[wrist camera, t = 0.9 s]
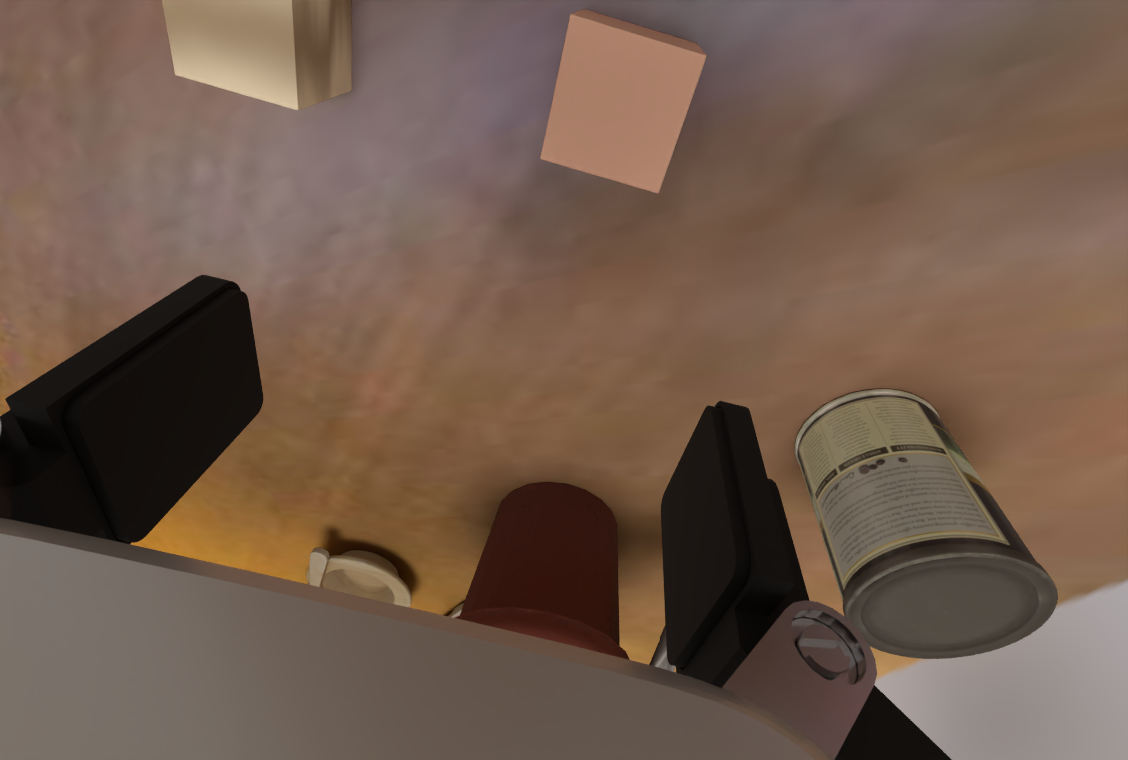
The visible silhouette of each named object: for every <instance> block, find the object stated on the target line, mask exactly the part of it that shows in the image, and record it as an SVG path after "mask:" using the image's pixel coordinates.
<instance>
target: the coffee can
mask: <svg viewBox="0 0 1128 760" xmlns="http://www.w3.org/2000/svg"><path fill="white" fill-rule="evenodd" d="M795 455H796V459H797V461H798V463H799V465H800V467H801V471H802V474H803V477H804V480H805V483H806V486H807V490H808V493H809V496H810V499H811V502H812V505H813V509H814V512H815V515H816V518H817V522H818V525H819V528H820V531H821V534H822V538H823V541H824V544H825V547H826V550H827V553H828V556H829V560H830V563H831V566H832V569H833V572H834V576H835V579H836V582H837V585H838V588H839V591H840V595H841V598H842V601H843V611H844V615H845V617H846V618H847V619H848V620H849V621H850V622H851V623H852V624H853V625H854V626H855V627H856V628H857V629H858V630H859V631H860V633H861V634H862V636H863V637H864V638H865V640H866V641H867V643H868V644H869V646H871V647H873V648H875V649H878V650H880V651H883V652H887V653H890V654H894V655H899V656H905V657H911V658H923V659H940V658H955V657H963V656H971V655H975V654H980V653H984V652H989V651H992V650H995V649H999V648H1002V647H1004V646H1007V645H1010V644H1012V643H1014V642H1017V641H1019V640H1021V639H1023V638H1024V637H1026V636H1028V635H1030V634H1031V633H1032V632H1034V631H1036V630H1037V629H1038V628H1040V627H1041V626H1042V625H1043V624H1044V623H1045V622H1046V621H1047V620H1048V619H1049V618H1050V616H1051V615H1052V613H1053V611H1054V610H1055V607H1056V604H1057V600H1058V594H1057V589H1056V586H1055V584H1054V582H1053V581H1052V579H1051V578H1050V576H1049V575H1048V573H1047V572H1046V571H1045V570H1044V568H1043V567H1042V566H1041V565H1040V564H1039V563H1037V562H1036V561H1035V559H1034V558H1033V556H1032V555H1031V553H1030V551H1029V550H1028V549H1027V547H1026V546H1025V544H1024V543H1023V541H1022V540H1021V538H1020V537H1019V535H1018V534H1017V532H1016V531H1015V529H1014V528H1013V526H1012V525H1011V523H1010V522H1009V520H1008V519H1007V517H1006V516H1005V514H1004V513H1003V511H1002V510H1001V509H1000V507H999V506H998V504H997V503H996V501H995V500H994V498H993V497H992V495H991V494H990V492H989V491H988V489H987V488H986V487H985V485H984V484H983V482H982V481H981V479H980V478H979V476H978V475H977V473H976V472H975V470H974V469H973V467H972V466H971V464H970V463H969V461H968V460H967V458H966V457H965V455H964V454H963V452H962V451H961V449H960V448H959V446H958V445H957V443H956V442H955V440H954V438H953V437H952V436H951V434H950V433H949V431H948V430H947V428H946V427H945V426H944V424H943V423H942V421H941V419H940V417H939V415H938V413H937V412H936V410H935V409H934V408H933V407H932V406H931V405H930V404H929V403H928V402H926V401H925V400H923V399H922V398H920V397H918V396H916V395H914V394H911V393H908V392H904V391H899V390H891V389H873V390H864V391H859V392H854V393H850V394H847V395H845V396H843V397H840V398H837V399H835V400H833V401H831V402H829V403H827V404H826V405H824V406H823V407H821V408H820V409H818V410H817V411H816V412H815V413H814V414H812V415H811V416H810V417H809V419H808V420H807V421H806V422H805V423H804V424H803V426H802V428H801V430H800V431H799V433H798V436H797V438H796V442H795Z"/></svg>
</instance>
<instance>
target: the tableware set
mask: <svg viewBox="0 0 1128 760" xmlns="http://www.w3.org/2000/svg"><path fill="white" fill-rule="evenodd" d="M306 576H307V582H308V585H313V586H317V587H322V588H326V589H330V590H335V591H339V592H344V593H348V594H352V595H357V596H361V597H365V598H370V599H374V600H378V601H383V602H387V603H392V604H396V605H400V606H405V607H410V605H411V600H412V598H411V593H410V590H409V588H408V586H407V585H406V584H405V583H404V581H403V580H401V579H400V578H399V575H398V571H397V569H396V568H395V567H394V565H393V564H392V563H391V562H389V561H388V560H387V559H385V558H383V557H382V556H379V555H377V554H375V553H371V552H367V551H361V550H352V551H348V552H345V553H343V554H342V555H334V556H330V555H329V552H328V551H327V550H325V549H323V548H314V550H313V551H312V553H311V554H310V567H309V568H308V570H307V573H306ZM463 605H464V603H463V604H461V605H459V606H457V607H456V608H455V609H454V610H453V612H452V613H451V614H450V615H449V616H448V617H452V618H455V617H457V616H459V615H460V613H461V610H462V607H463Z"/></svg>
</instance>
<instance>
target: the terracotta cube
mask: <svg viewBox="0 0 1128 760" xmlns="http://www.w3.org/2000/svg"><path fill="white" fill-rule="evenodd" d="M706 57H707V55H706V54H705V53H704V52H703V50H702V49H701V48H700V47H699V46H698V44H697V43H694V42H691V41H687V40H684V39H681V38H678V37H674V36H671V35H668V34H665V33H661V32H658V31H655V30H652V29H648V28H645V27H642V26H638V25H635V24H632V23H629V22H625V21H622V20H619V19H616V18H612V17H609V16H606V15H603V14H599V13H596V12H593V11H589V10H586V9H582V10H580V11H577V12H575V13H572V14H570V19H569V24H568V29H567V33H566V38H565V43H564V48H563V53H562V57H561V62H560V67H559V72H558V77H557V81H556V86H555V91H554V96H553V101H552V105H551V110H550V115H549V120H548V125H547V129H546V134H545V139H544V144H543V149H542V153H541V158H540V159H542V160H545V161H549V162H552V163H556V164H559V165H563V166H566V167H569V168H573V169H576V170H580V171H583V172H587V173H590V174H593V175H597V176H600V177H604V178H607V179H611V180H614V181H617V182H621V183H624V184H628V185H631V186H634V187H638V188H641V189H645V190H648V191H652V192H655V193H659V190H660V188H661V185H662V182H663V179H664V176H665V173H666V171H667V168H668V165H669V162H670V159H671V156H672V154H673V151H674V148H675V145H676V142H677V139H678V136H679V134H680V131H681V128H682V125H683V122H684V119H685V117H686V114H687V111H688V108H689V105H690V102H691V100H692V97H693V94H694V91H695V88H696V85H697V83H698V80H699V77H700V74H701V71H702V68H703V65H704V63H705V60H706Z"/></svg>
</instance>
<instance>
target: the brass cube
mask: <svg viewBox="0 0 1128 760" xmlns="http://www.w3.org/2000/svg"><path fill="white" fill-rule="evenodd" d="M162 3H163V8H164V14H165V19H166V25H167V31H168V36H169V42H170V47H171V53H172V59H173V64H174V70H175V75H178V76H181V77H185V78H188V79H192V80H195V81H199V82H202V83H205V84H209V85H212V86H216V87H219V88H223V89H226V90H230V91H233V92H236V93H240V94H243V95H247V96H250V97H254V98H257V99H261V100H264V101H267V102H271V103H274V104H278V105H281V106H285V107H288V108H292V109H295V110H300V109H303V108H306V107H309V106H311V105H314V104H317V103H320V102H322V101H325V100H328V99H330V98H333V97H336V96H339V95H341V94H344V93H347V92H349V91H352V44H351V0H162Z"/></svg>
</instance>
